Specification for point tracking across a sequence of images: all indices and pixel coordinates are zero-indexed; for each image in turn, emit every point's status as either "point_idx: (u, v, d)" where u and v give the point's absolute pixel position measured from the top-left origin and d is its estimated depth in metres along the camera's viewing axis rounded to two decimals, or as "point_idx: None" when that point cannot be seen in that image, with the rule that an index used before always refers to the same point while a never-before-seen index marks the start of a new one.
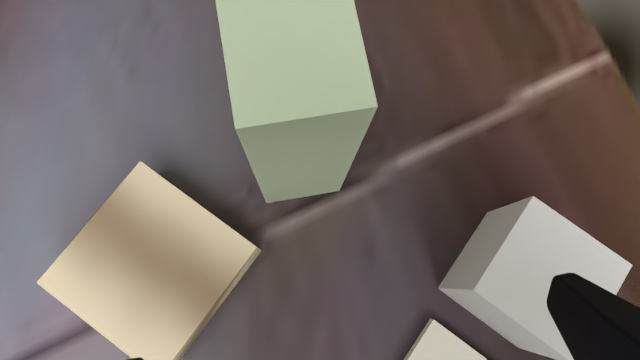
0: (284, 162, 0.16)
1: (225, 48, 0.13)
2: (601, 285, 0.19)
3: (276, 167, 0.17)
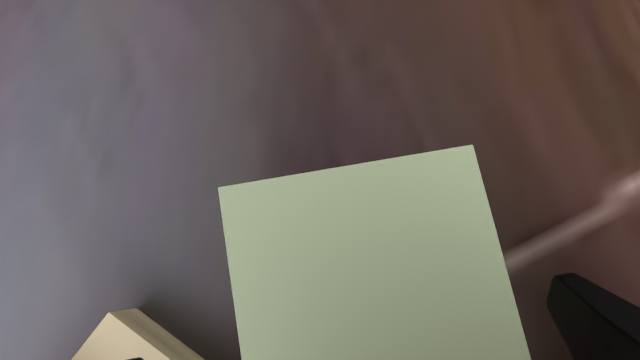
0: None
1: (237, 292, 0.06)
2: None
3: None
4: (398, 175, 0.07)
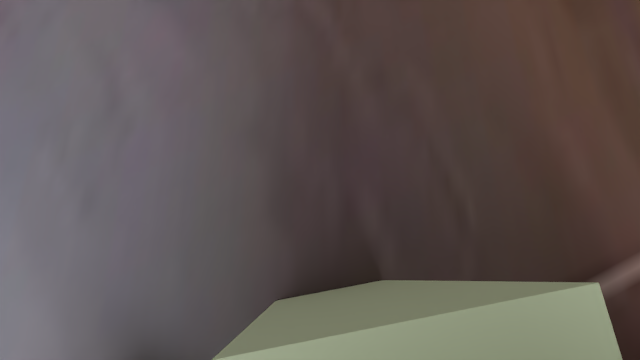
0: None
1: None
2: None
3: None
4: (489, 335, 0.04)
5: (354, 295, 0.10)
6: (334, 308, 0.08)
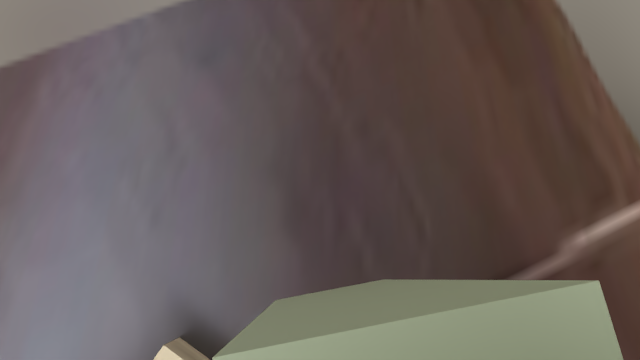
0: None
1: None
2: None
3: None
4: (489, 333, 0.04)
5: (354, 294, 0.10)
6: (334, 307, 0.08)
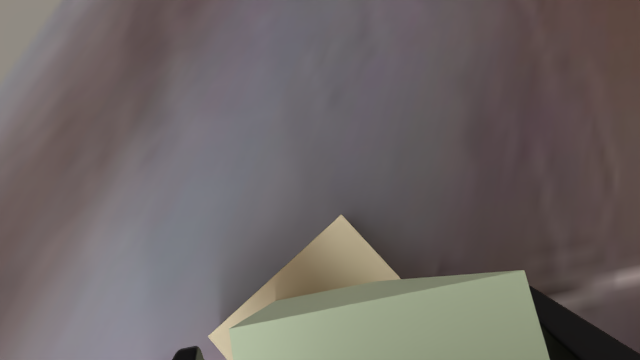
0: None
1: None
2: None
3: None
4: (438, 310, 0.06)
5: (345, 291, 0.12)
6: (326, 299, 0.09)
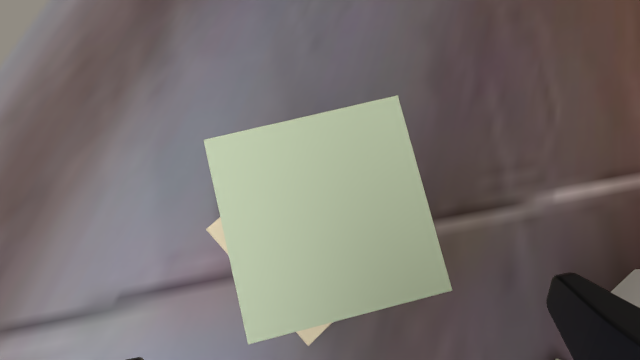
0: None
1: (224, 216, 0.09)
2: None
3: None
4: (340, 122, 0.09)
5: None
6: None
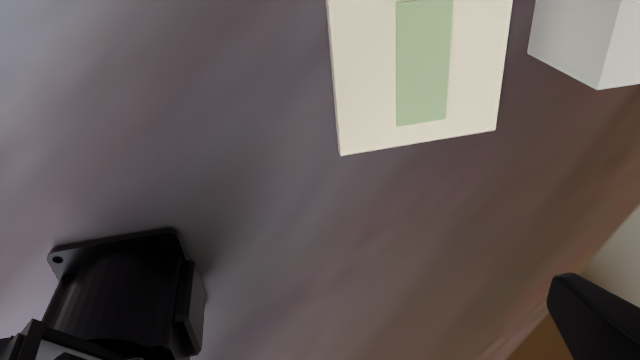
0: None
1: None
2: None
3: None
4: None
5: None
6: None
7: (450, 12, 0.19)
